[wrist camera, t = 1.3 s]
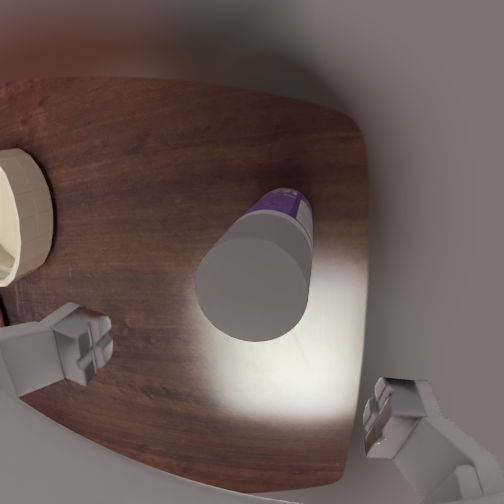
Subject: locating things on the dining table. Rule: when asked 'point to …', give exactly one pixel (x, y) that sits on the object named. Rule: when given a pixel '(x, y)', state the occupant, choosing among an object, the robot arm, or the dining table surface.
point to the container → (260, 269)
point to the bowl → (23, 216)
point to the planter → (1, 319)
